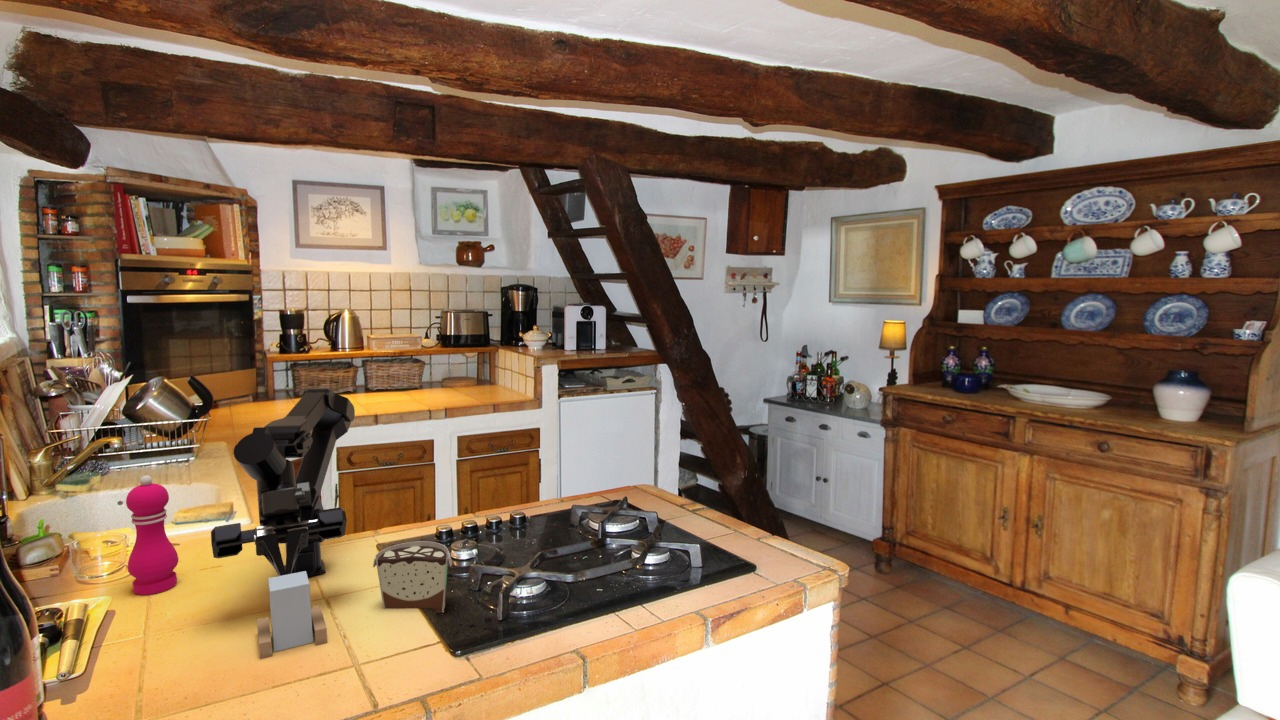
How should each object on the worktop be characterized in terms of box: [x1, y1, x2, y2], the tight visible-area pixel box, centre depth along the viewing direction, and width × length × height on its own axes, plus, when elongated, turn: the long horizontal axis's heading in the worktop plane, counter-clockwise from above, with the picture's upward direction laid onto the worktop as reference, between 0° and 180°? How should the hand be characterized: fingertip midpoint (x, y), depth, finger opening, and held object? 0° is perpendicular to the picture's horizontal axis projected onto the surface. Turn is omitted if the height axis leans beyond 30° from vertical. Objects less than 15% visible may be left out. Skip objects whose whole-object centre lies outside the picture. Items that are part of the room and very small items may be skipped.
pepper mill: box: [125, 474, 179, 596], centre depth 121 cm, size 7×7×20 cm
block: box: [267, 571, 314, 653], centre depth 102 cm, size 5×5×9 cm
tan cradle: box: [256, 605, 328, 660], centre depth 100 cm, size 15×9×3 cm, turn 30°
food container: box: [372, 540, 453, 614], centre depth 115 cm, size 12×6×10 cm, turn 92°
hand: (286, 582), depth 106 cm, fingers closed
